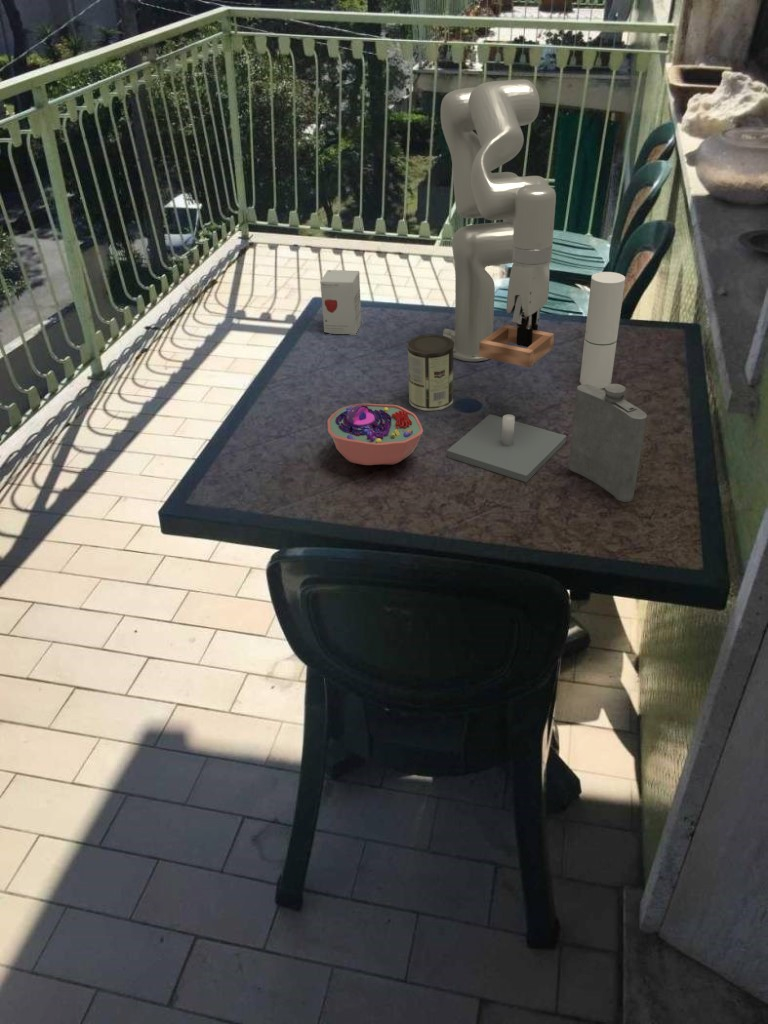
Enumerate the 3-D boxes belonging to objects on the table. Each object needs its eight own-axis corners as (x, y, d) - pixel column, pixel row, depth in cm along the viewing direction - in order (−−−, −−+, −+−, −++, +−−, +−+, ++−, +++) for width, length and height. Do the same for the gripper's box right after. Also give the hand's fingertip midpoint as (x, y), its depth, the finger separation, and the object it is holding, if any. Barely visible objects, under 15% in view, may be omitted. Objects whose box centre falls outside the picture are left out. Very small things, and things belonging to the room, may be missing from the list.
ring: (479, 356, 163) (479, 342, 161) (504, 337, 170) (505, 324, 169) (529, 367, 158) (530, 353, 156) (553, 347, 165) (554, 333, 163)
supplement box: (323, 335, 219) (318, 280, 211) (330, 322, 227) (326, 269, 218) (356, 336, 218) (353, 281, 209) (362, 323, 225) (359, 269, 217)
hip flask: (564, 466, 161) (574, 375, 150) (580, 460, 163) (591, 369, 152) (624, 504, 150) (640, 407, 139) (640, 496, 152) (656, 401, 140)
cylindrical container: (609, 375, 194) (623, 271, 179) (612, 388, 188) (627, 283, 173) (578, 374, 194) (590, 271, 180) (581, 388, 189) (593, 283, 174)
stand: (446, 456, 166) (447, 424, 162) (489, 420, 178) (491, 389, 174) (526, 482, 157) (528, 449, 153) (566, 442, 169) (569, 410, 165)
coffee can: (428, 386, 192) (428, 330, 184) (462, 399, 186) (463, 341, 178) (398, 402, 186) (397, 344, 178) (433, 415, 180) (433, 357, 172)
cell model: (396, 491, 157) (394, 440, 150) (312, 465, 166) (307, 416, 159) (439, 451, 168) (439, 402, 161) (358, 428, 177) (355, 381, 170)
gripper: (532, 241, 164) (526, 328, 174) (495, 262, 154) (492, 353, 164) (566, 245, 160) (559, 334, 171) (531, 268, 150) (526, 361, 160)
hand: (526, 343), depth 167 cm, fingers closed on ring, 1 cm apart
